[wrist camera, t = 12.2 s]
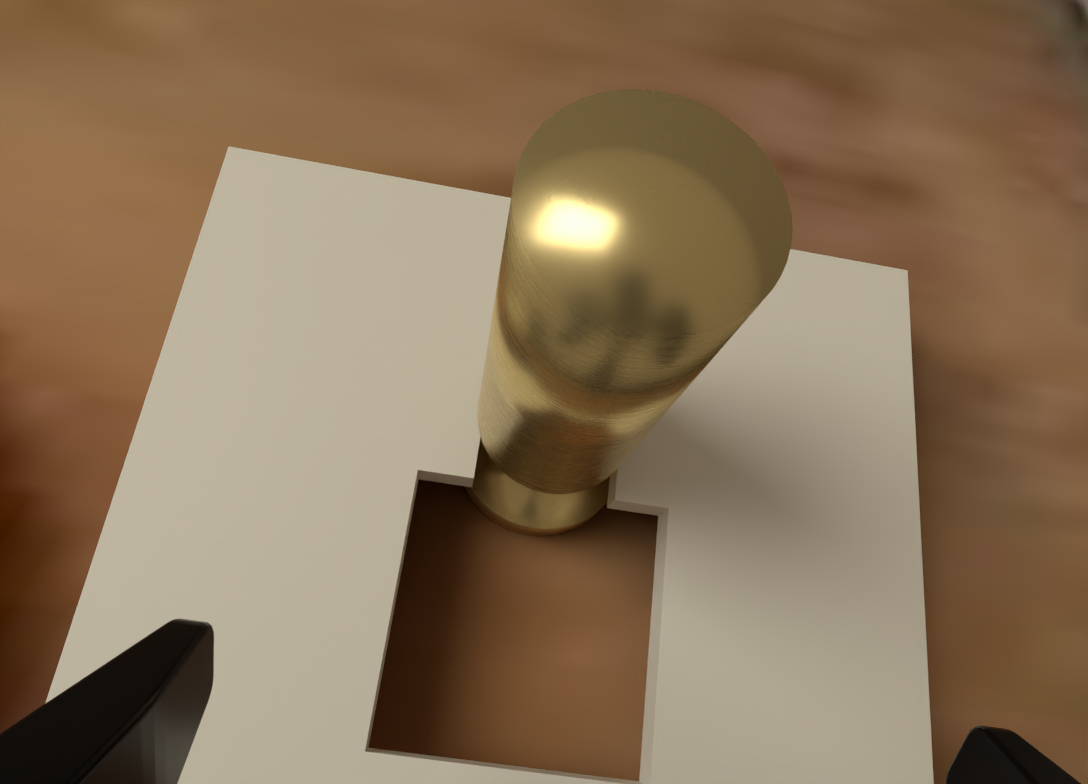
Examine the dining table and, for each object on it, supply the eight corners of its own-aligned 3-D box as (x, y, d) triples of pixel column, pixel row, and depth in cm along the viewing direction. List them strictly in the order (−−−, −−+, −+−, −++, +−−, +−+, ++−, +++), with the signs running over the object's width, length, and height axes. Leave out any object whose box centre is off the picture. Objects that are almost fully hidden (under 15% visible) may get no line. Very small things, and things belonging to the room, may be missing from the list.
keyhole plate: (869, 858, 20) (939, 886, 18) (82, 764, 19) (20, 779, 16) (856, 314, 26) (907, 270, 23) (252, 207, 25) (228, 146, 22)
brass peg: (649, 443, 24) (876, 195, 11) (555, 570, 22) (704, 436, 10) (524, 349, 24) (614, 16, 12) (423, 466, 22) (409, 215, 10)
